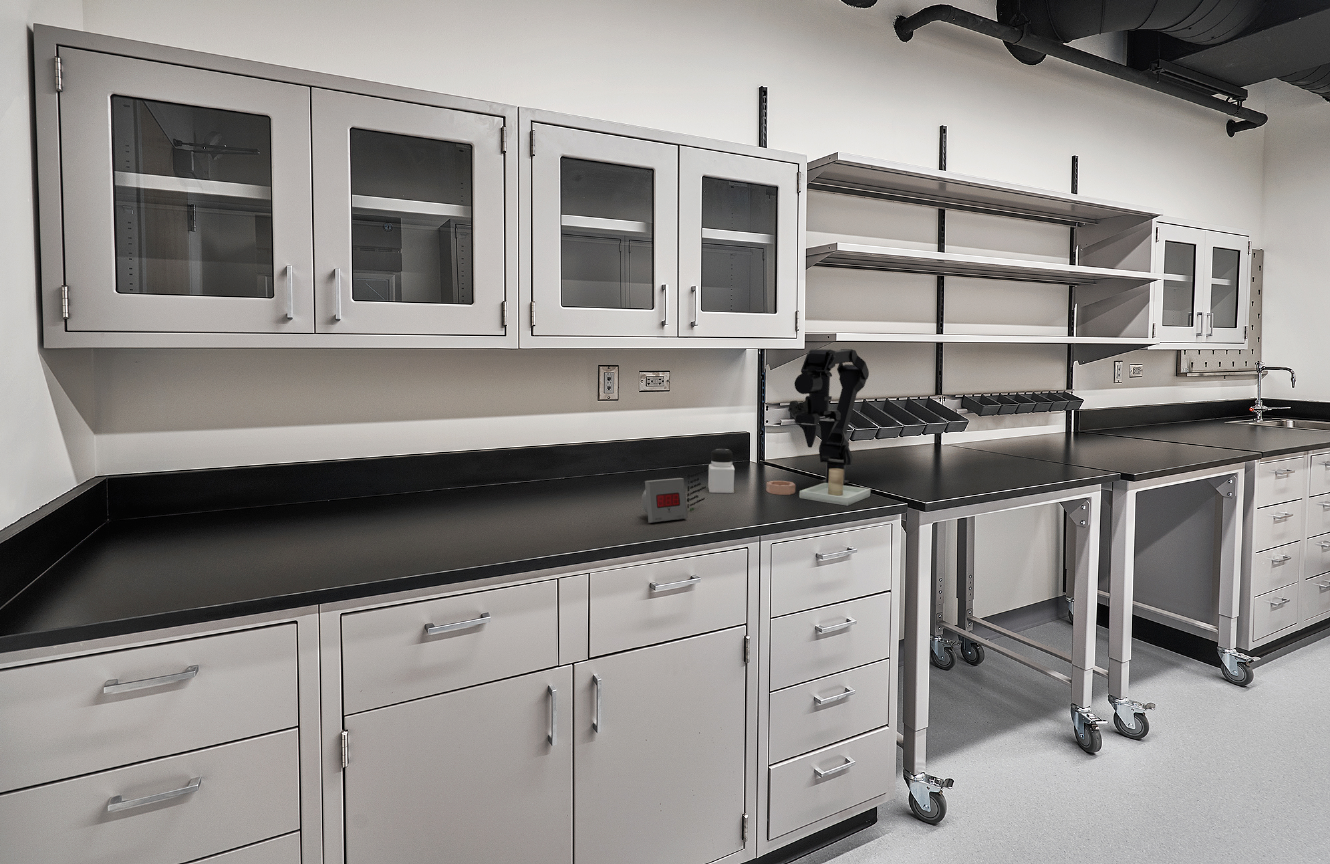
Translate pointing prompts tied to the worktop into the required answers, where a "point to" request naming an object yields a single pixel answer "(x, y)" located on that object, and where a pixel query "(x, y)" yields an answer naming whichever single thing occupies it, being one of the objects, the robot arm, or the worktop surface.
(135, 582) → the worktop surface
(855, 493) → the tray
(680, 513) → the voltmeter
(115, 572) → the worktop surface
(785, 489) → the cup ring
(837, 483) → the dowel
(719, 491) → the medicine bottle
